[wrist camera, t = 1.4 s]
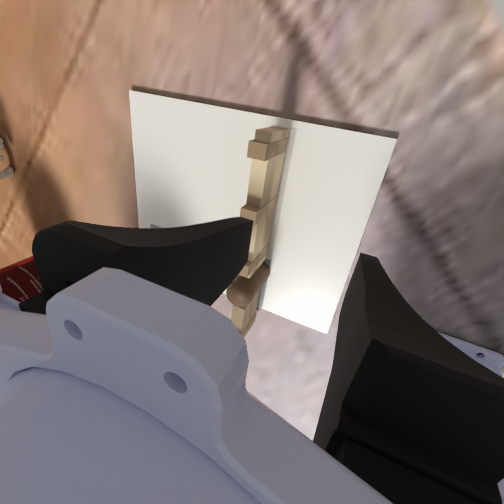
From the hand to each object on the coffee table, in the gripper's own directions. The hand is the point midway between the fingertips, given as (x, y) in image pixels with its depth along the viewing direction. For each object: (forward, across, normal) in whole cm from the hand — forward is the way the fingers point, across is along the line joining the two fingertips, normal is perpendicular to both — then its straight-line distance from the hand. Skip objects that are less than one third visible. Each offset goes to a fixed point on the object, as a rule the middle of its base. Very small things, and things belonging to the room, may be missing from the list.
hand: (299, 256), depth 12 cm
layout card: (+10, +8, +4) cm, 13 cm away
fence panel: (+9, +4, +1) cm, 10 cm away
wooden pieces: (+10, +4, +10) cm, 15 cm away
